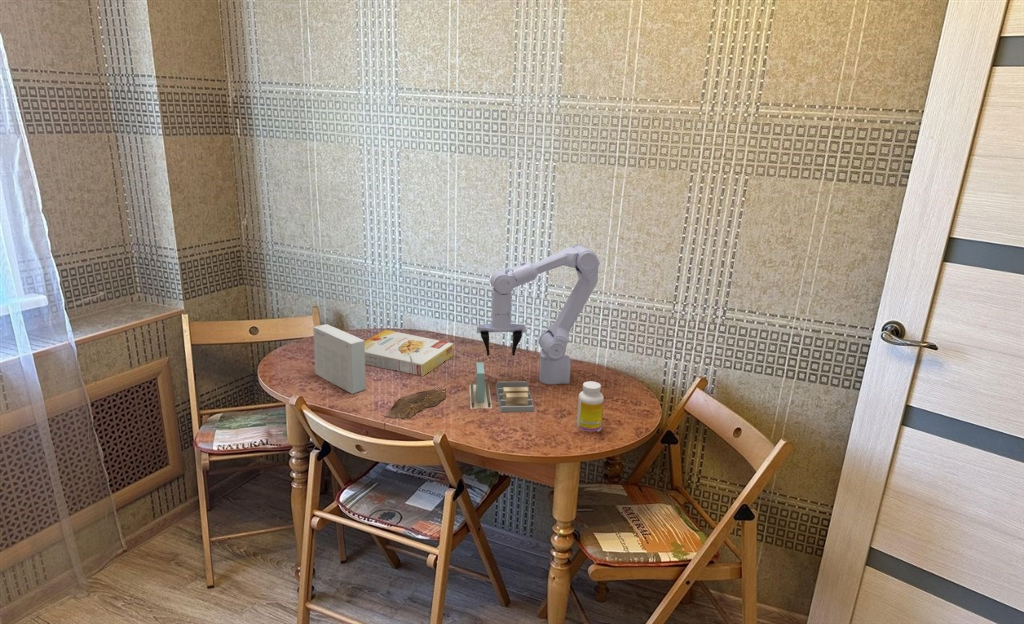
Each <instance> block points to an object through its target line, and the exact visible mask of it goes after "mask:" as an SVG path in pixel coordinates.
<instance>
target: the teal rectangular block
mask: <svg viewBox="0 0 1024 624" xmlns="http://www.w3.org/2000/svg"><path fill="white" fill-rule="evenodd" d="M475 363H476V364H475V365H476V366H475V367H476V368H475V370H476V373H475V375H476V377H475V378H476V380H475V383H476V384H475V385H476V394H477V402H484V384H485V368H484V367H485V365H484V362H475Z"/></svg>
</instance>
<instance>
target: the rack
mask: <svg viewBox="0 0 1024 624" xmlns="http://www.w3.org/2000/svg"><path fill="white" fill-rule="evenodd" d="M503 387H528V406H506V400H503ZM495 391H496V396H497V404H498V412H499V413H527V412H528V413H531V412H532V413H536V409H535V405H534V402H533V399H532V394H531V390H530V387H529V383H528V381H527V380H526V381H525V380H522V381H521V380H518V381H511V380H510V381H497V383H495Z"/></svg>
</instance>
